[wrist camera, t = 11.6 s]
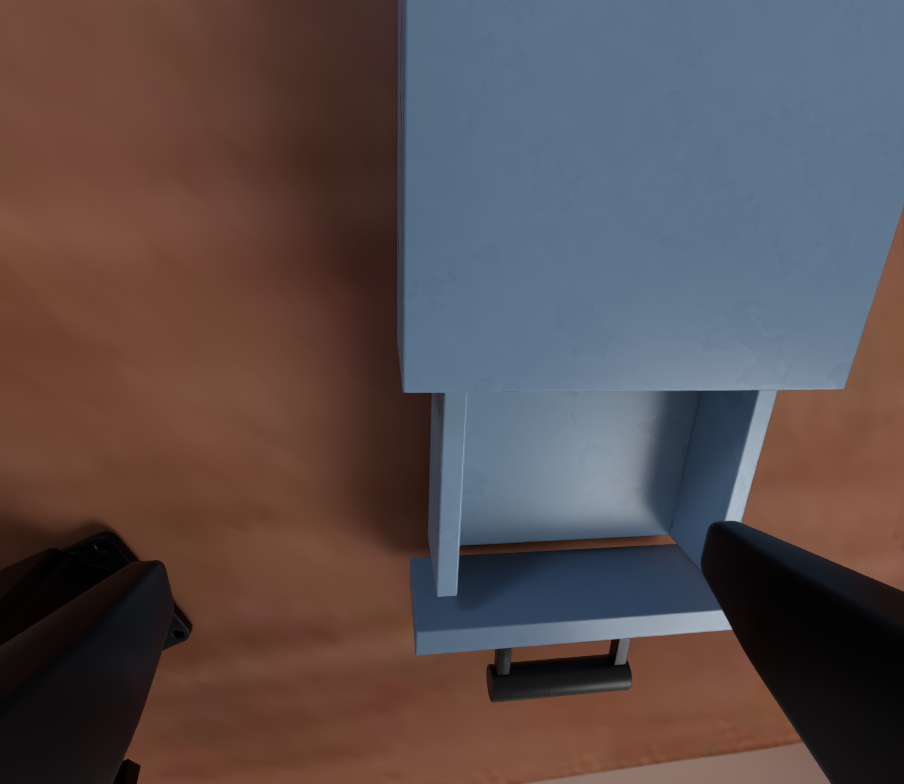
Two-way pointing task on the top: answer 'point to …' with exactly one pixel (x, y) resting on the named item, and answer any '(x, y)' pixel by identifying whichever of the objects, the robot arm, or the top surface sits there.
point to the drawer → (577, 524)
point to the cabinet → (643, 191)
